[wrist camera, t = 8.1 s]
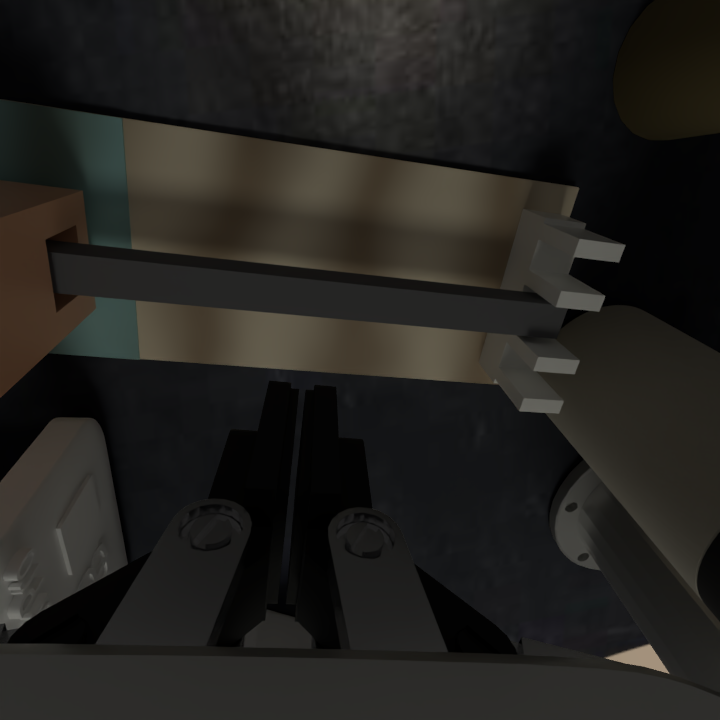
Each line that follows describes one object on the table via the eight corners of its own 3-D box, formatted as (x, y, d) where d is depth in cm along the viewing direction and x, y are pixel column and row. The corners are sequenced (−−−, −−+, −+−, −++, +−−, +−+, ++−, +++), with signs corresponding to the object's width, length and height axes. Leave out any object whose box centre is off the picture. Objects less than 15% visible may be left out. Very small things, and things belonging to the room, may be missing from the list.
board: (575, 186, 23) (580, 187, 22) (510, 382, 28) (513, 386, 27) (-237, 63, 17) (-251, 61, 17) (-139, 334, 22) (-148, 339, 22)
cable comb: (556, 212, 23) (628, 238, 18) (508, 362, 27) (557, 418, 22) (519, 207, 23) (581, 232, 18) (476, 359, 27) (517, 415, 22)
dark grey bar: (551, 294, 22) (568, 306, 21) (541, 325, 23) (556, 338, 22) (-192, 213, 17) (-237, 222, 16) (-177, 256, 18) (-218, 268, 16)
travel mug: (533, 434, 30) (804, 800, 14) (526, 323, 26) (888, 648, 10) (655, 403, 30) (1068, 733, 14) (666, 286, 26) (1251, 556, 10)
